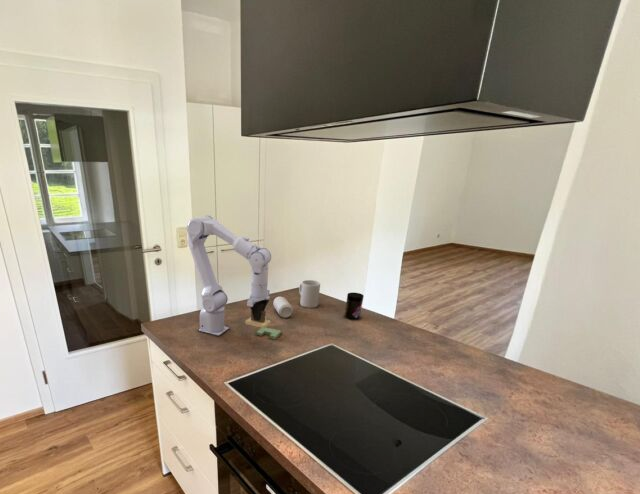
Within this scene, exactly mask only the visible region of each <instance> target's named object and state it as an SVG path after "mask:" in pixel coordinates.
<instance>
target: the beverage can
mask: <svg viewBox="0 0 640 494" xmlns="http://www.w3.org/2000/svg"><path fill="white" fill-rule="evenodd" d="M272 304H273V307H274V309H275V310H276V312H277V313H278V315H279V316H280V317H281V318H283V319H287V318H289V317H291V316H292V315H293V313H294V308H293V306H292V305H291V304H290V302H289V301H288V300H287V298H286V297H284V296H282V295H281V296H277V297H275V298H274V299H273V303H272Z"/></svg>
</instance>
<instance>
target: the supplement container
mask: <svg viewBox="0 0 640 494" xmlns="http://www.w3.org/2000/svg"><path fill="white" fill-rule="evenodd" d="M346 295H347V296H346V303H345V310H344V318H346V319H348V320H351V321H352V320H353V321H357V320H359V319H360V318H361V314H362V308H363V301H364V294H363V293H360V292H348V293H347V294H346Z"/></svg>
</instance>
